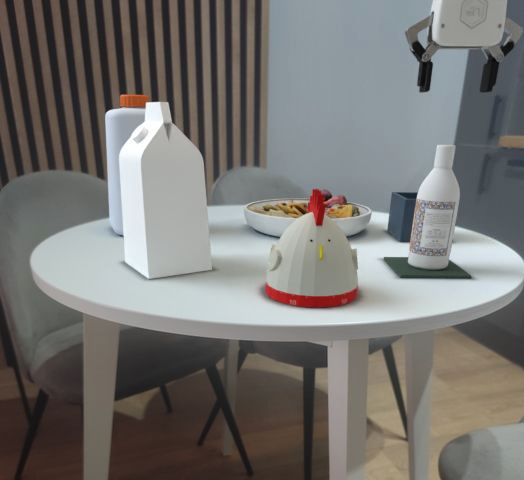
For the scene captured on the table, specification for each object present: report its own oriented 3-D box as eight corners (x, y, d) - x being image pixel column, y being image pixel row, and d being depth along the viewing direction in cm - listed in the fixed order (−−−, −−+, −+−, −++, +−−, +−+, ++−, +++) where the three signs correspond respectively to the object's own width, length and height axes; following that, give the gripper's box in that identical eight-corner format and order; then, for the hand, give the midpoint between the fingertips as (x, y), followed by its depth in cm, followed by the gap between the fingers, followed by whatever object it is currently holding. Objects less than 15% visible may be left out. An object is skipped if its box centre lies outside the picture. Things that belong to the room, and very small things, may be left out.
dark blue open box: (434, 231, 119) (440, 192, 115) (451, 242, 109) (459, 199, 105) (387, 231, 119) (391, 192, 115) (399, 241, 108) (405, 199, 105)
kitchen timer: (270, 308, 69) (273, 196, 63) (261, 279, 81) (262, 183, 75) (368, 306, 70) (380, 197, 64) (344, 278, 83) (352, 184, 76)
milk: (212, 269, 86) (207, 102, 75) (148, 279, 81) (133, 100, 70) (183, 254, 95) (176, 103, 84) (125, 262, 90) (108, 101, 79)
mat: (445, 260, 95) (446, 257, 94) (470, 278, 84) (471, 275, 84) (383, 259, 94) (383, 256, 94) (400, 277, 84) (400, 274, 83)
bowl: (354, 248, 102) (358, 209, 99) (222, 235, 112) (222, 199, 108) (379, 223, 127) (383, 191, 124) (270, 214, 137) (271, 184, 134)
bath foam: (416, 258, 93) (433, 143, 85) (453, 265, 89) (474, 145, 81) (400, 265, 88) (417, 144, 80) (439, 273, 85) (460, 146, 76)
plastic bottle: (184, 234, 112) (178, 95, 100) (116, 238, 107) (100, 92, 95) (170, 222, 125) (163, 97, 113) (108, 225, 120) (93, 95, 108)
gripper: (422, -53, 67) (406, 91, 74) (549, -52, 67) (521, 91, 74) (406, -38, 73) (393, 93, 81) (522, -37, 74) (498, 93, 81)
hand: (454, 92), depth 77 cm, fingers open, 9 cm apart
